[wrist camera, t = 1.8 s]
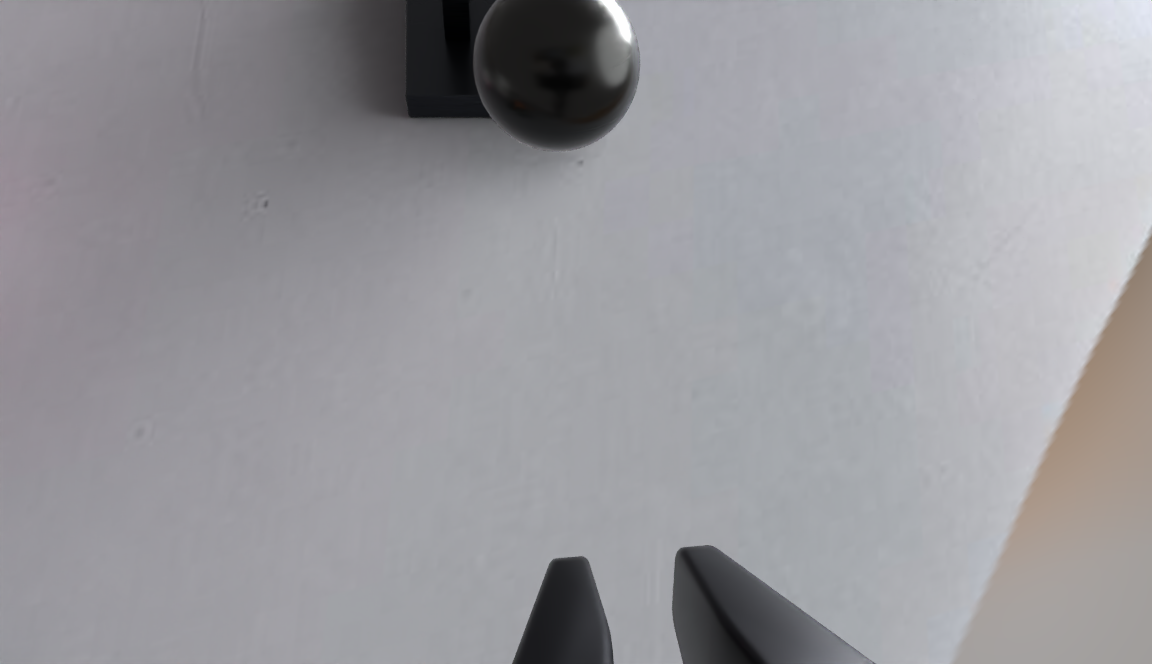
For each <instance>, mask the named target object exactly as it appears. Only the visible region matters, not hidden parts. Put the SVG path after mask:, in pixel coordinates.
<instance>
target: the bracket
mask: <svg viewBox="0 0 1152 664" xmlns="http://www.w3.org/2000/svg"><path fill="white" fill-rule="evenodd" d="M495 1H496V0H406V101H407V108H408V114H409V116H410V117H491V116H490V115H489V113H488V112H487V110H486V109H485V107H484V105H483V103H482V101H481V98H480V96H479V93H478V91H477V87H476V83H475V78H474V71H473V52H474V45H475V40H476V36H477V33H478V30H479V27H480V24H481V22H482V21H483V19H484V17H485V15H486V13H487V11H488V10H489V9H490V7H491V6H492V5H493V3H494V2H495Z"/></svg>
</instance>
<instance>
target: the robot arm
mask: <svg viewBox="0 0 1152 664" xmlns="http://www.w3.org/2000/svg"><path fill="white" fill-rule="evenodd" d="M672 613H673V622H674V627H675V632H676V636H677V640H678V644H679V648H680V652H681V656H682V660H683V664H875V663H874V662H872V661H871V660H870V659H868V658H867V657H865V656H864V655H863V654H861V653H860V652H859V651H857V650H856V649H854V648H853V647H852V646H850V645H849V644H848V643H846V642H845V641H844V640H842V639H841V638H839V637H838V636H837V635H835V634H834V633H833V632H831V631H830V630H828V629H827V628H826V627H824V626H823V625H822V624H820V623H819V622H817V621H816V620H815V619H813V618H812V617H811V616H809V615H808V614H806V613H805V612H804V611H802V610H801V609H800V608H798V607H797V606H795V605H794V604H793V603H791V602H790V601H789V600H787V599H786V598H784V597H783V596H782V595H780V594H779V593H778V592H776V591H775V590H773V589H772V588H771V587H769V586H768V585H767V584H765V583H764V582H763V581H761V580H760V579H758V578H757V577H756V576H754V575H753V574H752V573H750V572H749V571H747V570H746V569H745V568H743V567H742V566H741V565H739V564H738V563H736V562H735V561H734V560H732V559H731V558H730V557H728V556H727V555H725V554H724V553H723V552H721V551H720V550H719V549H717V548H715V547H713V546H710V545H705V546H694V547H683V548H681V549H679V550H678V552H677V554H676V557H675V568H674V584H673V601H672ZM512 664H614V661H613V650H612V642H611V635H610V630H609V626H608V623H607V619H606V616H605V613H604V609H603V606H602V603H601V600H600V596H599V593H598V590H597V587H596V583H595V580H594V577H593V574H592V570H591V567H590V564H589V561H588V560H587V559H586V558H585V557H582V556H579V557H568V558H556V559H553V560H552V561H551V562H550V564H549V566H548V569H547V572H546V574H545V577H544V580H543V582H542V585H541V588H540V590H539V593H538V596H537V599H536V601H535V604H534V607H533V609H532V612H531V615H530V617H529V620H528V623H527V625H526V628H525V631H524V634H523V636H522V639H521V642H520V644H519V647H518V650H517V652H516V655H515V658H514V660H513V663H512Z"/></svg>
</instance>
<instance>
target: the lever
mask: <svg viewBox="0 0 1152 664" xmlns="http://www.w3.org/2000/svg"><path fill="white" fill-rule="evenodd" d="M473 71H474V78H475V83H476V87H477V91H478V93H479V96H480V98H481V101H482V103H483V105H484V107H485V109H486V110H487V112H488V113H489V115H490V116H491V118H492V119H493V120H494V121H495V123H496V124H497V125H498V126H499V127H500V128H501V129H502V130H503V131H504V132H505V133H507V134H508V135H509V136H511V137H512V138H514V139H515V140H517V141H518V142H520V143H522V144H525V145H527V146H530V147H532V148H535V149H539V150H544V151H551V152H563V151H571V150H575V149H579V148H582V147H585V146H588V145H590V144H592V143H594V142H596V141H598V140H599V139H601V138H602V137H604V136H605V135H606V134H607V133H609V132H610V131H611V130H612V129H613V128H614V127H615V126H616V125H617V124H618V123H619V121H620V120H621V119H622V118H623V116H624V115H625V113H626V112H627V110H628V108H629V106H630V104H631V103H632V100H633V98H634V95H635V92H636V89H637V84H638V80H639V72H640V53H639V47H638V42H637V37H636V34H635V32H634V29H633V26H632V24H631V22H630V20H629V18H628V16H627V14H626V13H625V11H624V10H623V8H622V7H621V6H620V5H619V3H618V2H617V1H616V0H496V1H495V2H494V3H493V5H492V6H491V7H490V9H489V10H488V11H487V13H486V15H485V17H484V19H483V21H482V22H481V24H480V27H479V30H478V33H477V36H476V40H475V45H474V52H473Z"/></svg>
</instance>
